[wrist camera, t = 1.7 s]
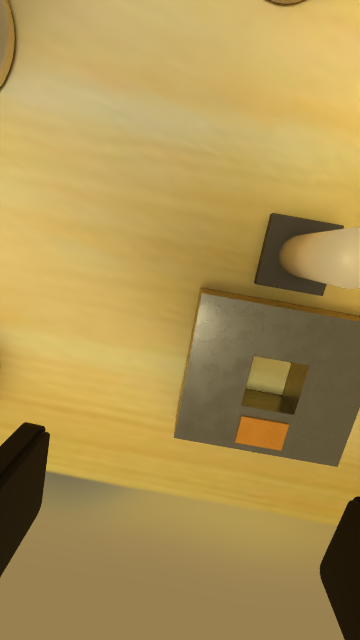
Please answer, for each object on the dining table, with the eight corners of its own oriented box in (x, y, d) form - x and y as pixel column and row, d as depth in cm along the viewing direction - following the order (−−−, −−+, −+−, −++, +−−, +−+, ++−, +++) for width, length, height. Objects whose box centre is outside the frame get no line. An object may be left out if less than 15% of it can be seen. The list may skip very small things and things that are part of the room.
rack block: (200, 287, 30) (202, 293, 26) (364, 316, 30) (391, 327, 26) (175, 416, 34) (173, 439, 30) (320, 442, 34) (338, 468, 30)
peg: (284, 231, 28) (334, 221, 18) (324, 238, 28) (395, 232, 18) (274, 272, 29) (316, 283, 19) (312, 279, 29) (374, 293, 19)
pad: (270, 214, 28) (273, 213, 27) (338, 226, 28) (344, 225, 27) (253, 283, 30) (256, 284, 29) (318, 294, 30) (322, 296, 29)
